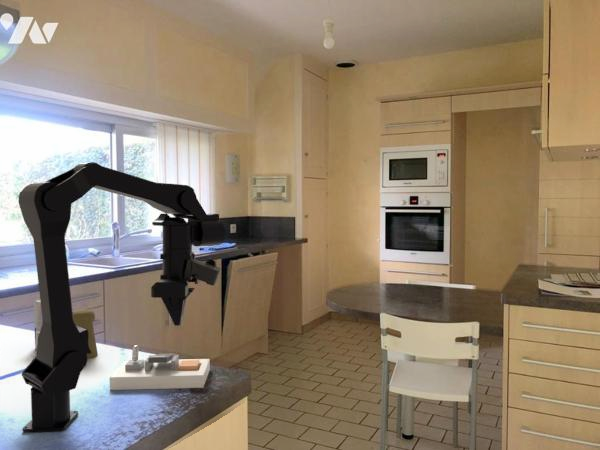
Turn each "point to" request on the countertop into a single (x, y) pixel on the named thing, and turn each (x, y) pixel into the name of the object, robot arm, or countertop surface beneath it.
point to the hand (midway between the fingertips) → (177, 325)
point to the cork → (87, 328)
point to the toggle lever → (135, 353)
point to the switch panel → (158, 375)
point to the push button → (189, 365)
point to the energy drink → (37, 319)
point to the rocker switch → (161, 358)
